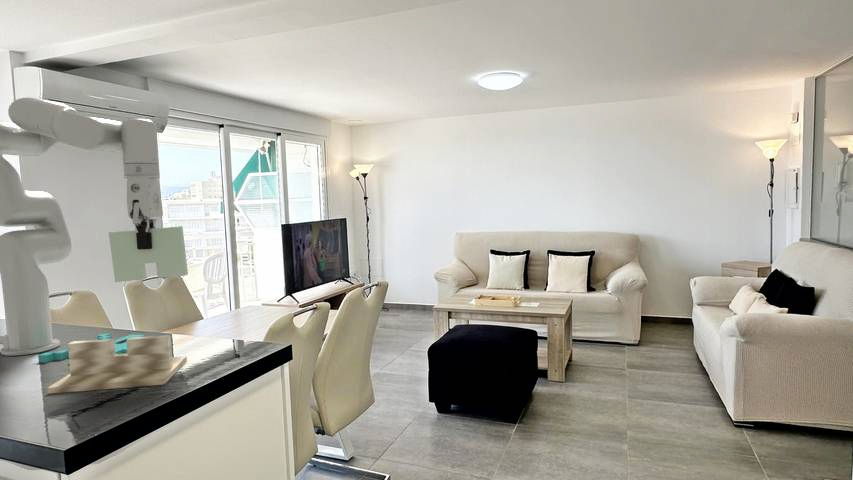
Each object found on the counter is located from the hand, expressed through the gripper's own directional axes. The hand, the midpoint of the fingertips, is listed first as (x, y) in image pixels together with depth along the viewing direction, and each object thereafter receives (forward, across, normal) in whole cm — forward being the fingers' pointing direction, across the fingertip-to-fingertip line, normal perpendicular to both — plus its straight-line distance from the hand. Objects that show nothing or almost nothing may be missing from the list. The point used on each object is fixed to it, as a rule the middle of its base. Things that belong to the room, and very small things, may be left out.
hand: (146, 248), depth 127 cm
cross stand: (+27, -14, +2) cm, 30 cm away
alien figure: (+28, +8, +14) cm, 32 cm away
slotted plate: (+7, 0, -1) cm, 7 cm away
